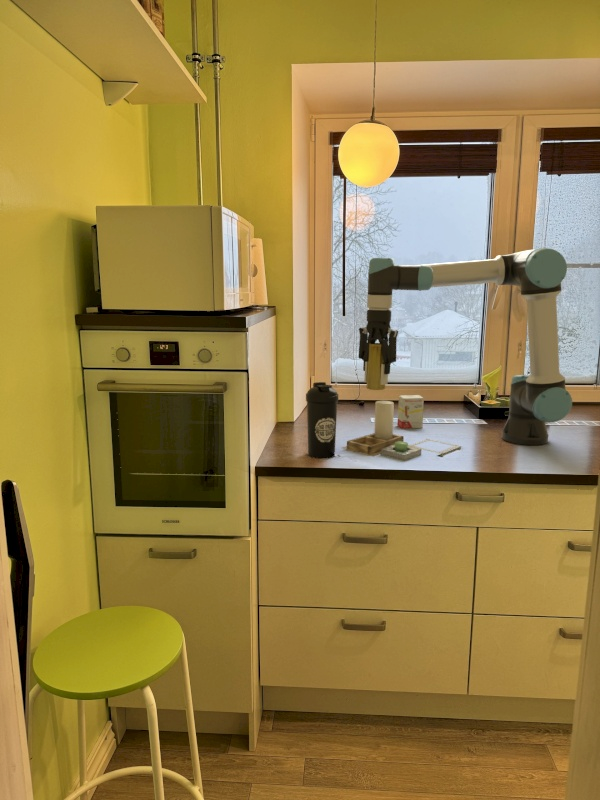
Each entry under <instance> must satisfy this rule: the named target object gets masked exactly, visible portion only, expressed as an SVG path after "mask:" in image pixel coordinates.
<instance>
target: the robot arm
mask: <svg viewBox="0 0 600 800" xmlns="http://www.w3.org/2000/svg"><path fill="white" fill-rule="evenodd" d="M394 261H395V260H394V258H392V257H373V258H371V259H370V260H369V265H368V273H367V274H368V275H367V276H368V277H367V278H368V279H367V302H366V308H368V309H367V310H366V321H367V324H366V326H364V327H359V328H358V332H359V344H358V359H361V360H362V361H363V366H362V367H363V372H364V381H363V382H364V383H367V372H368V361H369V344H375V343H377V341H378V343H380V345H381V351H382V356H383V362H384V363H382V364H381V383H380V385H385V386H386V385H388V381H389V375H390V374H391V364H392V363H396V362H397V338H398V334H399V330H397V329H392V327H391V324H390V323H391V321H392V311H391V308H392V305H393V300H392V299H393V291H398V290H399V291H420V292H421V291H429V290H430V289H431V288H439V287H440V288H441V287H453V286H454V287H455V286H465V285H466V286H468V285H469V286H470V285H482V284H494V283H495V284H496V285H497V286H517V287H520V295H521V297H522V298H523V299H525V300H526V314H527V329H528V330H527V332H528V351H529V369H530V370H529V371H530V374H517V375H514V376H512V378H511V382H510V395H509V410H508V418H507V420H506V422H505V425H504V426H503V429H502V432H501V438H502V439H503V440H504V441H506V442H507V443H508V442H509V443H511V444H517V445H521V446H522V445H525V446H542V445H545V444H547V443H549V432H548V429H547V425H546V424H547V423H556V422H560V421H561V420H563V419H564V418H565V417H566V416H567V415H568V414H569V413H570V411H571V410H572V407H573V398H572V395H571V394H570V392H569V391H568V390H567V389H566V378H565V376H564V375H562V374H561V372H560V359H559V358H560V355H559V336H558V335H559V334H558V311H557V310H558V309H557V297H558V296H559V295H560V293H561V292H562V282H563V280H564V279H565V278H566V277H567V272H568V266H567V265H568V264H567V261H566V259H565V257H564V256H563V254H562V253H560V252H559V251H557V250H556V249H553V248H547V247H539V248H537V249H536V248H535V249H526V250H523V251H519V252H514V253H511V254H505V255H504V254H503V255H496V257H495V258H493V259H491V258H490V259H480V260H479V259H478V260H469V261H468V260H467V261H456V262H455V261H453V262H441V263H428V264H418V265H417V264H416V265H415V264H411V265H410V264H409V265H407V264H406V265H405V264H401V265H399V264H395V262H394Z"/></svg>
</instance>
